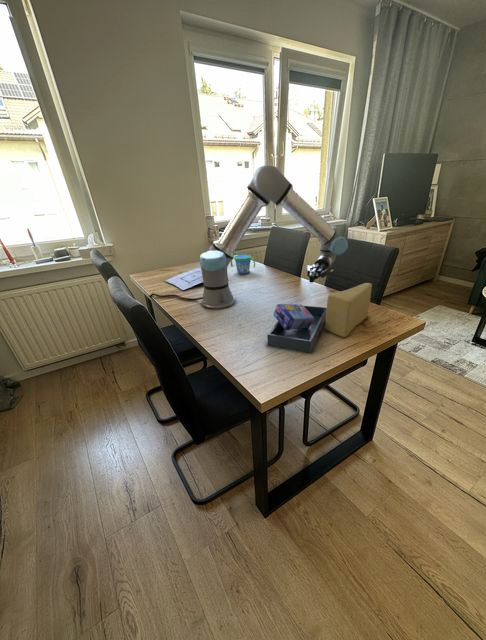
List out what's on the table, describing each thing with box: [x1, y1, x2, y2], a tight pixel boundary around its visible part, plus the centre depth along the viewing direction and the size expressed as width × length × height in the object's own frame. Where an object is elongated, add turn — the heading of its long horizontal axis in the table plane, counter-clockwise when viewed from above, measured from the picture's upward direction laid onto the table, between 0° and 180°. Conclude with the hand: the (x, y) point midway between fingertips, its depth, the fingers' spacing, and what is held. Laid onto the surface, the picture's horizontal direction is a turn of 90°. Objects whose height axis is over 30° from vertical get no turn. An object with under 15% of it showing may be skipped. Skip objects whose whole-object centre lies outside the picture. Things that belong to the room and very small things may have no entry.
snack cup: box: [230, 254, 256, 275], centre depth 175 cm, size 16×10×10 cm
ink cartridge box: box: [273, 303, 315, 330], centre depth 106 cm, size 10×6×14 cm
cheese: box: [324, 282, 373, 338], centre depth 107 cm, size 22×10×15 cm, turn 131°
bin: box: [266, 304, 327, 354], centre depth 108 cm, size 16×30×4 cm, turn 158°
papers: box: [165, 266, 203, 291], centre depth 167 cm, size 24×30×4 cm
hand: (311, 279), depth 116 cm, fingers closed
